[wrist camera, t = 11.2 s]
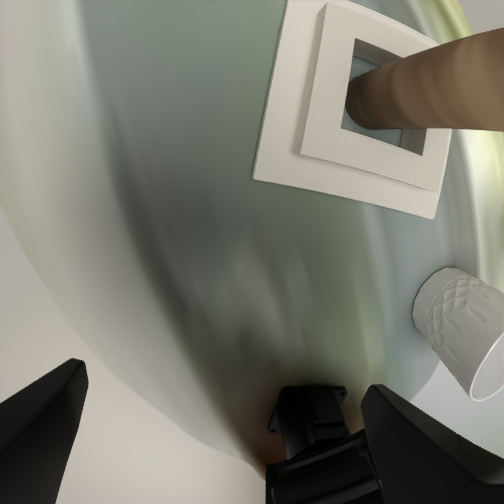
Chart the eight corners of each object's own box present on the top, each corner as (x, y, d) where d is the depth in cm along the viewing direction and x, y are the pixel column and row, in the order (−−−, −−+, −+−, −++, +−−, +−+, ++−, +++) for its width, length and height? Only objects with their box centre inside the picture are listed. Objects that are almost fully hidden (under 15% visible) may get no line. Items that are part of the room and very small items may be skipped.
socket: (426, 216, 21) (449, 226, 18) (251, 177, 19) (257, 183, 16) (450, 57, 17) (473, 52, 14) (288, -11, 15) (299, -30, 12)
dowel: (377, 141, 19) (532, 157, 7) (333, 104, 18) (479, 70, 6) (402, 100, 18) (552, 89, 6) (361, 64, 17) (502, 9, 5)
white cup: (477, 262, 24) (549, 308, 14) (451, 333, 26) (508, 390, 17) (421, 257, 22) (504, 315, 13) (395, 338, 25) (452, 412, 16)
